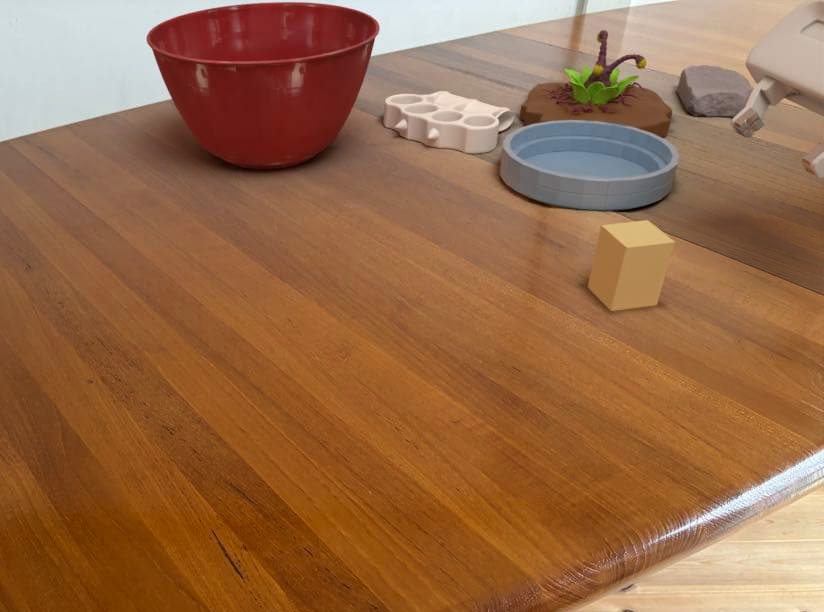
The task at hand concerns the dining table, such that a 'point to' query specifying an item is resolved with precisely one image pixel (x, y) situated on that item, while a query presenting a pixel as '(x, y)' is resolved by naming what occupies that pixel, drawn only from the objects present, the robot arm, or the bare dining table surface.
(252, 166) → the mixing bowl
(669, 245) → the yellow block
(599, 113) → the plant
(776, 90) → the robot arm
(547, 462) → the dining table surface
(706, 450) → the dining table surface
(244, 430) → the dining table surface
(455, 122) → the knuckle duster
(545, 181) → the blue bowl
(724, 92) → the stone block
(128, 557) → the dining table surface
